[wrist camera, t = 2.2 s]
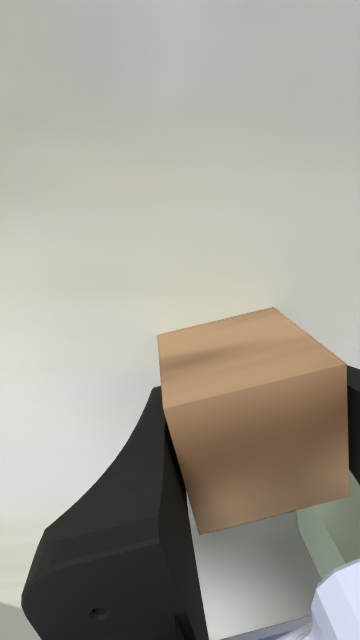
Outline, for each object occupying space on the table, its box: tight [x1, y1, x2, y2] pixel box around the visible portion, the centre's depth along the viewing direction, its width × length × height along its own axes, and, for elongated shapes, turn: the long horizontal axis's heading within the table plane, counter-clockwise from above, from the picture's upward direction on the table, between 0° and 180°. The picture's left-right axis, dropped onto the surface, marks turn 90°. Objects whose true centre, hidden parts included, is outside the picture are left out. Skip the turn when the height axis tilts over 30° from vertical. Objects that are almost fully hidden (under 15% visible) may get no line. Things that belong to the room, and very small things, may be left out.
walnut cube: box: [157, 307, 349, 535], centre depth 11 cm, size 5×5×5 cm
